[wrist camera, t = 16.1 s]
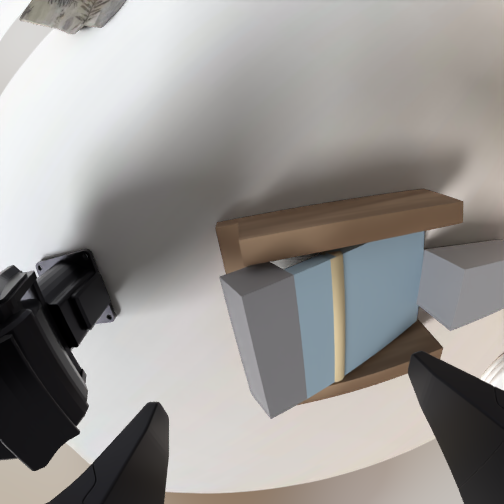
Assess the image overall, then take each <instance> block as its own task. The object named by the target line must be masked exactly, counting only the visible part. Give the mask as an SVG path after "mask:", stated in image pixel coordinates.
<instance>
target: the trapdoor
mask: <svg viewBox="0 0 504 504" xmlns="http://www.w3.org/2000/svg"><path fill="white" fill-rule="evenodd" d="M423 254H424V231H421V232H417V233H412V234H407V235H402V236H397V237H392V238H388V239H383V240H378V241H373V242H368V243H363V244H358V245H353V246H348V247H343V248H338V249H333V250H327V251H324V252H322V253H320V254H319V255H318V256H316V257H313V258H311V259H308V260H306V261H303V262H301V263H298V264H296V265H294V266H291V267H289V268H286V269H284V270H283V269H281V268H280V267H278V266H276V265H274V264H272V263H270V262H265V263H260V264H254V265H250V266H247V267H245V268H242V269H239V270H237V271H234V272H231V273H228V274H226V275H223V276H220V281H221V285H222V289H223V293H224V297H225V300H226V304H227V308H228V312H229V316H230V320H231V323H232V327H233V331H234V334H235V338H236V342H237V345H238V349H239V353H240V356H241V360H242V363H243V367H244V370H245V374H246V377H247V381H248V384H249V388H250V391H251V394H252V395H253V397H254V398H255V399H256V401H257V402H258V403H259V404H260V406H261V407H262V408H263V410H264V411H265V412H266V413H267V415H268V416H269V417H270V418H271V419H272V418H274V417H276V416H277V415H279V414H281V413H283V412H285V411H287V410H289V409H290V408H292V407H294V406H296V405H298V404H299V403H301V402H303V401H305V400H306V399H308V398H310V397H311V396H313V395H315V394H316V393H318V392H320V391H321V390H323V389H324V388H326V387H328V386H329V385H331V384H332V383H334V382H338V381H341V380H342V379H343V378H344V376H345V375H346V374H348V373H349V372H351V371H352V370H353V369H355V368H356V367H358V366H359V365H361V364H362V363H363V362H365V361H366V360H368V359H369V358H370V357H372V356H373V355H374V354H376V353H377V352H378V351H380V350H381V349H382V348H384V347H385V346H386V345H388V344H389V343H390V342H391V341H393V340H394V339H395V338H397V337H398V336H399V335H400V334H401V333H403V332H404V331H405V330H406V329H408V328H409V327H410V326H411V325H412V324H413V323H415V322H416V321H417V315H418V308H419V306H418V305H417V304H416V302H417V297H418V291H419V285H420V279H421V272H422V264H423Z"/></svg>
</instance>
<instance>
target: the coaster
mask: <svg viewBox="0 0 504 504" xmlns="http://www.w3.org/2000/svg"><path fill="white" fill-rule="evenodd" d="M480 379H481V380H483V381H485V382H487V383H489V384H491V385H493V386H494V387H497V388H499V389H501V390H504V354H503V355H501V356H500V357H498V358H497V359H496V360H495V361H494V362H493V363H492V364H491V365H490V366H489V367H488V368H487V369H486V371H485V372H484V373H483V374H482V376H481V377H480Z"/></svg>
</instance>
